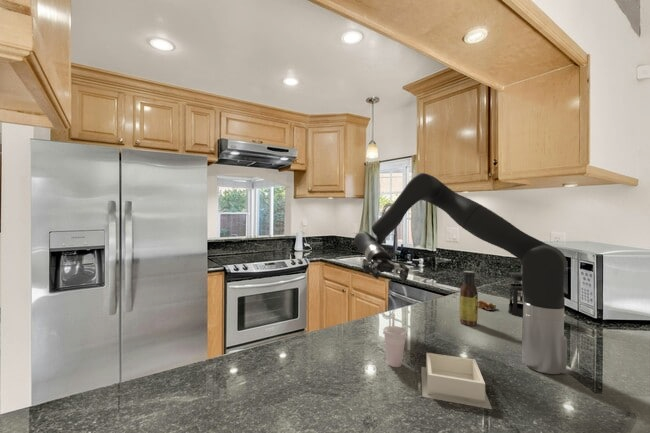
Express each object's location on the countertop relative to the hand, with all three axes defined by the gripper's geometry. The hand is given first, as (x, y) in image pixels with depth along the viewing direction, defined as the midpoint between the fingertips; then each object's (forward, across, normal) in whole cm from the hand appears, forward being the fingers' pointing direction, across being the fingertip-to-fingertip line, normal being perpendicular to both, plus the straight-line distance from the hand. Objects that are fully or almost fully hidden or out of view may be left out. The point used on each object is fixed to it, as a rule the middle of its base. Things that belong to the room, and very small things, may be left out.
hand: (391, 277), depth 91 cm
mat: (+24, +11, +17) cm, 31 cm away
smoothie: (+13, 0, +20) cm, 24 cm away
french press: (-26, +70, +22) cm, 78 cm away
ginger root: (-36, +60, +26) cm, 74 cm away
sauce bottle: (-17, +40, +23) cm, 49 cm away
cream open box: (+24, +11, +16) cm, 31 cm away
